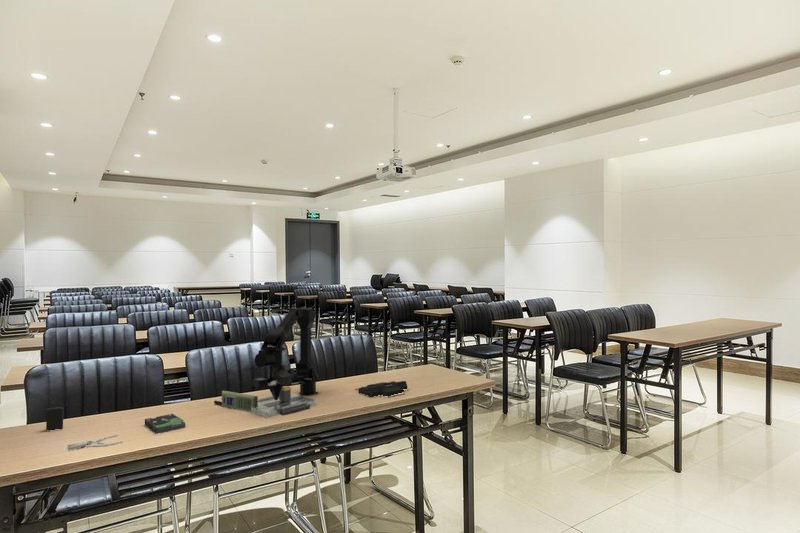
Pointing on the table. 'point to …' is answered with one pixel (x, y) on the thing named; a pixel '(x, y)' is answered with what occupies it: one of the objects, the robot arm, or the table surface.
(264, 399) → the grey rounded rod
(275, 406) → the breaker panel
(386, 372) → the table surface
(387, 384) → the electronic device
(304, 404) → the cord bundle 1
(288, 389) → the lever
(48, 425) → the ink cartridge
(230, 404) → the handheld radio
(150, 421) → the disk drive
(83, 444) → the pliers
